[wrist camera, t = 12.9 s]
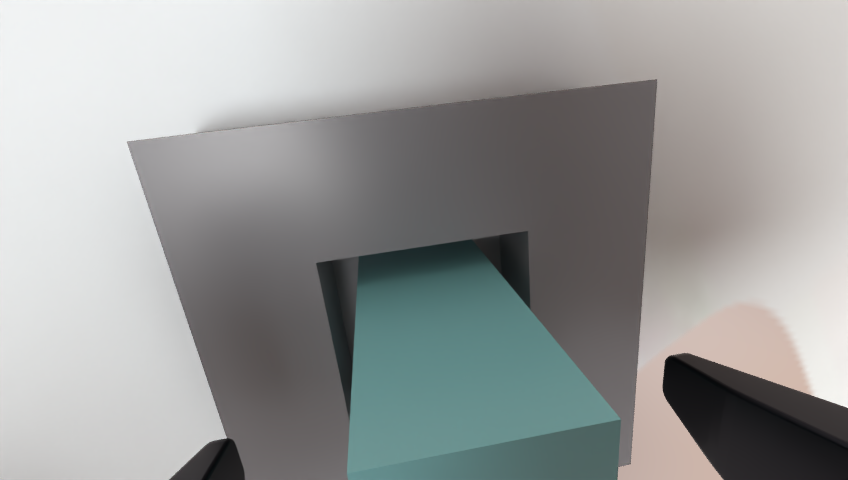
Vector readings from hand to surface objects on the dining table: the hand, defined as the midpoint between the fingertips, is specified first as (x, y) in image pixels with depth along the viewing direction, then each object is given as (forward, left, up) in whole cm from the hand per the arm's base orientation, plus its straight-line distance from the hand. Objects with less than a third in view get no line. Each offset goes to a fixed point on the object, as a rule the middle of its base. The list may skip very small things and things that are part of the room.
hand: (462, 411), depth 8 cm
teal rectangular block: (0, 0, -5) cm, 5 cm away
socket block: (0, 0, -6) cm, 6 cm away
